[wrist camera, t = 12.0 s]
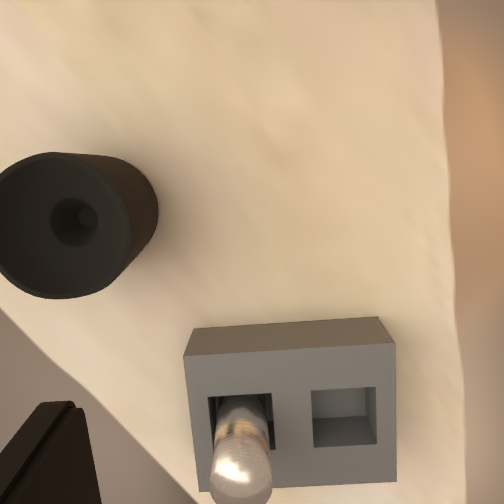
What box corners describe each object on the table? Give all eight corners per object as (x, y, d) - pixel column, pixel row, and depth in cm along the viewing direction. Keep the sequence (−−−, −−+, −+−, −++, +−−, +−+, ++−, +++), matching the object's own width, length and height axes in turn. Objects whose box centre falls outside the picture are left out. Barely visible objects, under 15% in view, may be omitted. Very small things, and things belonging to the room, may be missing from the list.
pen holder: (75, 131, 37) (9, 124, 27) (182, 182, 38) (155, 194, 28) (35, 234, 39) (-40, 263, 29) (138, 282, 40) (98, 325, 30)
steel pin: (216, 378, 40) (205, 462, 29) (262, 373, 40) (268, 455, 29) (222, 420, 41) (214, 517, 30) (267, 415, 41) (275, 510, 30)
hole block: (193, 328, 40) (183, 356, 35) (377, 316, 40) (395, 342, 35) (206, 449, 43) (199, 492, 38) (379, 439, 43) (396, 481, 37)
